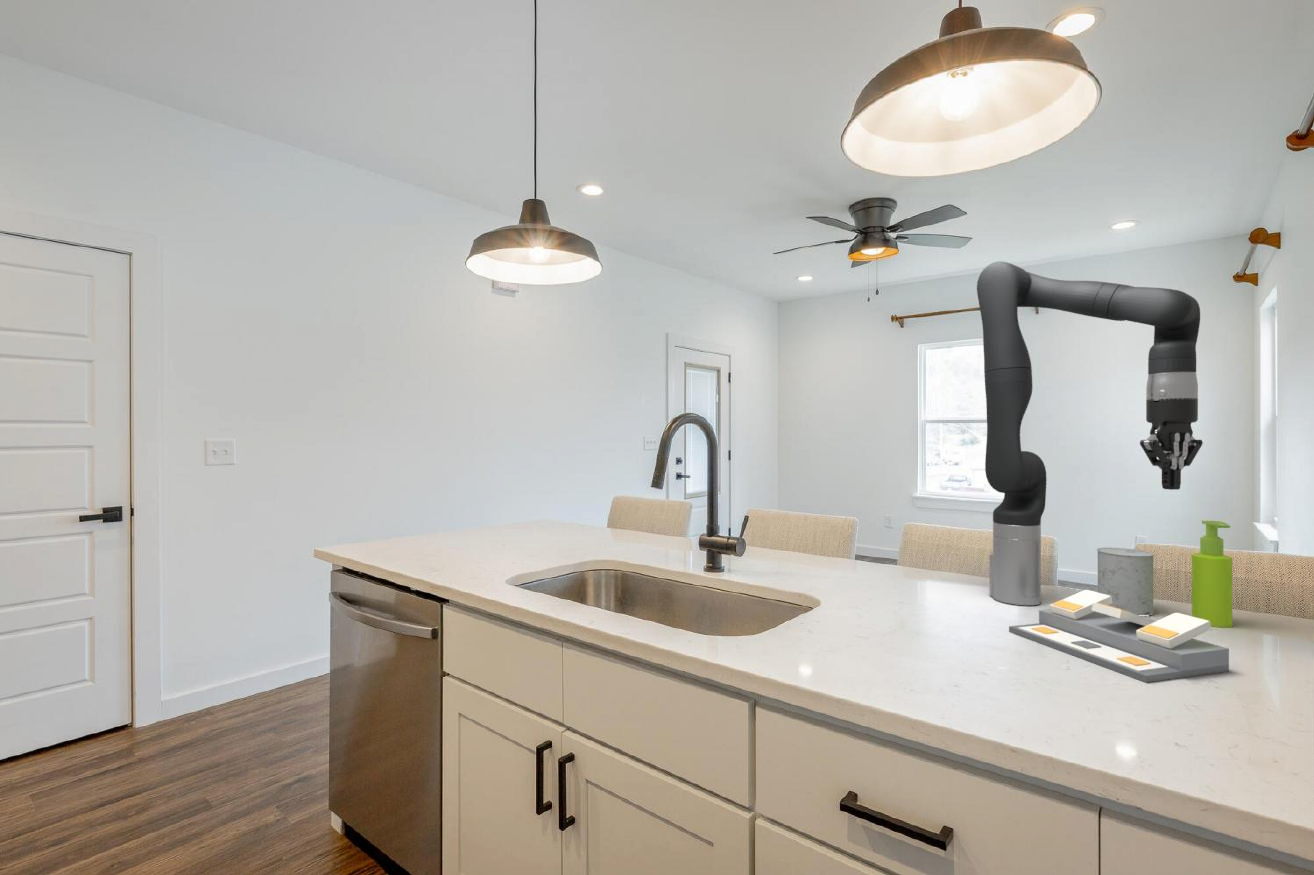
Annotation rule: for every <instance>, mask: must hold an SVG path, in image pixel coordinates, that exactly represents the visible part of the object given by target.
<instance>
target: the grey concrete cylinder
mask: <svg viewBox="0 0 1314 875" xmlns="http://www.w3.org/2000/svg"><path fill="white" fill-rule="evenodd" d="M1096 551H1097V592H1098V593H1101V594H1105V595H1109V596H1111V597H1112V602H1113V603H1112V604H1110V605H1108V606H1112V607H1115V608H1119V609H1123V610H1126V611H1129V612H1132V613H1133V614H1136V615H1152V616H1153V614H1154V615H1155V612H1154V556H1155V555H1154V553H1153V552H1151V551H1147V550H1142V549H1134V548H1125V547H1098V548H1097V549H1096Z"/></svg>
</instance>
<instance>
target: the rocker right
mask: <svg viewBox="0 0 1314 875" xmlns="http://www.w3.org/2000/svg"><path fill="white" fill-rule="evenodd" d="M1211 630H1212V626H1211V625H1210V621H1208V620H1204V619H1200V618H1196V617H1192V615H1187V614H1184V613H1180V612H1174V613H1171V614H1169V615H1167V616H1165V617H1163V618H1160V619H1159V620H1158V619H1157V620H1156V622H1154V623H1151V624H1149V625H1147V626H1145V627H1143V628H1140V629H1138V630H1136V633H1137V638H1138V639H1140V640H1143V641H1147V642H1150V643H1153V644H1156V645H1160V646H1163V647H1166V648H1169V649H1171V648H1173V647H1175V646H1177V645H1180V644H1182V643H1184V642H1186V641H1188V640H1190V639H1192V638H1193V639H1195V638H1196V637H1198V636H1200V635H1202V634H1205V633H1207V632H1209V631H1211Z"/></svg>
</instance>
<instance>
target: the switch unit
mask: <svg viewBox="0 0 1314 875" xmlns="http://www.w3.org/2000/svg"><path fill="white" fill-rule="evenodd" d="M1143 627H1145V626H1143V625H1140V624H1136V623H1133V622H1129V621H1126V620H1122V619H1119V618H1116V617H1112V616H1109V615H1106V614H1102V613H1099V612H1096V611H1094V612H1092V613H1089V614H1087V615H1085V616H1083V617H1080V618H1078V619H1076V620H1075V619H1072V618H1069V617H1065V616H1062V615H1059V614H1056V613H1053V612H1051V610H1050V608H1049V609H1048V608H1047V609H1040V610H1038V623H1030V624H1029V623H1028V624H1020V625H1010V626H1008V632H1009V633H1012V634H1015V635H1017V636H1020V637H1023V638H1025V639H1027V640H1029V641H1030V640H1031V641H1032V642H1036V643H1038V644H1041V645H1044V646H1047V647H1049V648H1052V649H1055V650H1057V651H1059V652H1063V653H1065V654H1068V655H1070V656H1074V657H1077V658H1079V659H1082V660H1084V661H1087V662H1090V663H1091V664H1095V665H1098V666H1101V667H1103V668H1106V669H1108V670H1111V671H1113V672H1117V673H1119V674H1122V675H1125V676H1127V677H1130V678H1133V679H1135V680H1138V681H1141V682H1143V683H1153V682H1159V681H1168V679H1169V680H1175V679H1181V678H1182V679H1183V678H1188V677H1196V676H1203V675H1210V674H1217V673H1225V672H1229V671H1230V649H1229V648H1228V647H1225V646H1222V645H1218V644H1214V643H1210V642H1206V641H1204V640H1200V639H1197V638H1192V639H1190V640H1188V641H1186V642H1184V643H1182V644H1180V645H1177V646H1175V647H1173V648H1171V649H1169V648H1166V647H1163V646H1160V645H1156V644H1153V643H1150V642H1147V641H1143V640H1140V639H1138V638H1137V633H1136V630H1138V629H1140V628H1143Z"/></svg>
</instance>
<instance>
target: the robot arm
mask: <svg viewBox="0 0 1314 875" xmlns="http://www.w3.org/2000/svg"><path fill="white" fill-rule="evenodd" d="M976 294H977V300H978V305H979V309H980V310H979V311H980V312H979V313H980V317H981V323H982V337H983V338H982V340H983V341H982V342H983V344H982V345H983V359H984V360H983V361H984V363H983V365H984V366H983V370H984V375H983V376H984V389H985V402H986V404H985V405H986V427H987V428H986V446H985V460H984V461H985V463H984V464H985V465H984V466H985V467H984V470H985V477H986V479H987V483H988V484H989V486H991V488H992V489H993V490H995V491H996V492H998V493H1001V494H1004V496H1003V500H1002V501H1001V503H1000V504H999V505H998V506H996V508H994V510H993V511H992V553H991V554H989V597H992V598H993V599H994V600H996V601H998V602H1001V603H1005V604H1010V605H1017V606H1018V605H1019V606H1036V605H1037V606H1038V605H1040V604H1041V602H1042V601H1041V600H1042V596H1041V595H1042V593H1041V592H1042V589H1041V588H1042V537H1041V536H1042V534H1041V532H1042V526H1041V524H1042V516H1043V514H1044V511H1045V508H1046V500H1047V499H1046V497H1047V470H1046V465H1045V463H1044V460H1042V458H1041V457H1040V456H1039V455H1038V454H1037V453H1035V452H1032V451H1028V450H1027V451H1026V450H1022V448H1021V446H1022V444H1021V426H1022V421H1023V419H1024V416H1025V414H1026V411H1027V410H1028V407H1029V404H1030V401H1031V397H1032V393H1033V374H1032V372H1033V371H1032V370H1033V369H1032V362H1031V356H1030V352H1029V349H1028V347H1027V344H1026V341H1025V338H1024V336H1023V333H1022V331H1021V328H1020V324H1019V317H1018V308H1043V309H1051V310H1056V311H1057V310H1059V311H1062V312H1067V313H1072V314H1075V315H1082V316H1086V317H1092V318H1098V319H1103V320H1110V321H1118V322H1125V321H1127V322H1133V323H1138V324H1143V325H1148V326H1153V327H1154V332H1153V344H1152V346H1151V347H1149V348H1150V349H1149V351H1148V359H1147V361H1148V362H1147V367H1148V368H1147V381H1146V389H1145V391H1146V393H1145V395H1146V397H1145V398H1146V400H1145V401H1146V402H1145V403H1146V404H1145V405H1146V408H1145V410H1146V412H1145V414H1146V415H1145V416H1146V418H1145V419H1146V420H1145V421H1146V422H1147V423H1149V424H1151V427H1150V431H1149V436H1148V437H1147V439H1141V440H1140V441H1139V444H1140V447H1141V448H1142V450H1143V451H1144V453H1145V456H1146V457H1147V458H1148V460H1149V462H1150V463H1151V465H1152V466H1153V467H1158V468H1159V469H1160V470H1161V487H1162V489H1163V490H1174V491H1175V490H1178V491H1179V490H1180V489H1181V484H1182V480H1181V479H1182V470H1183V469H1184V467H1190V466H1191V464H1192V463H1193V461H1194V459H1195V458H1196V456H1197V455H1198V453H1199V451H1200V449H1201V447H1202V446H1203V443H1204V442H1203V440H1202V439H1196V438H1195V437H1194V436H1193V434H1194V433H1193V432H1194V431H1193V429H1192V423H1197V422H1198V419H1199V384H1198V378H1197V350H1196V349H1197V348H1196V347H1197V342H1198V338H1199V332H1200V330H1199V329H1200V325H1201V324H1200V323H1201V307H1200V304H1199V302H1198V301H1197V299H1195V297H1193V296H1192V295H1190V294H1188V293H1186V292H1184V291H1183V290H1182V291H1181V290H1179V289H1172V288H1164V287H1150V286H1148V287H1147V286H1132V285H1127V284H1121V283H1114V282H1107V281H1097V280H1063V279H1055V278H1049V277H1046V276H1042V275H1038V274H1036V273H1035V274H1034V273H1031V272H1030V271H1029V272H1028V271H1026V270H1025V269H1023V268H1022V267H1020V266H1017V265H1015V264H1013V263H1010V262H1007V261H995V262H994V261H993V262H992V263H990V264H988V265H986V266H985V267H984V268H983V269H982V271H981V272H980V274H979V276H978V279H977V282H976Z"/></svg>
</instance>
